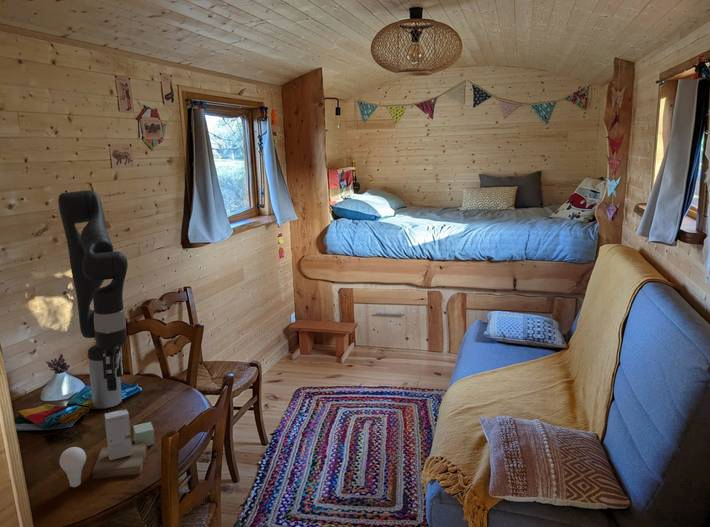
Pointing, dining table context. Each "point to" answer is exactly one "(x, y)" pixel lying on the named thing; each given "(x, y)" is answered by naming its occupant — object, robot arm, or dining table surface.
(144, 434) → the sage block
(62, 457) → the lightbulb
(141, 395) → the dining table surface
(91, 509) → the dining table surface
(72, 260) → the robot arm
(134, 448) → the beige flat slab
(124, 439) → the skincare box
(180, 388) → the dining table surface
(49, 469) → the dining table surface
